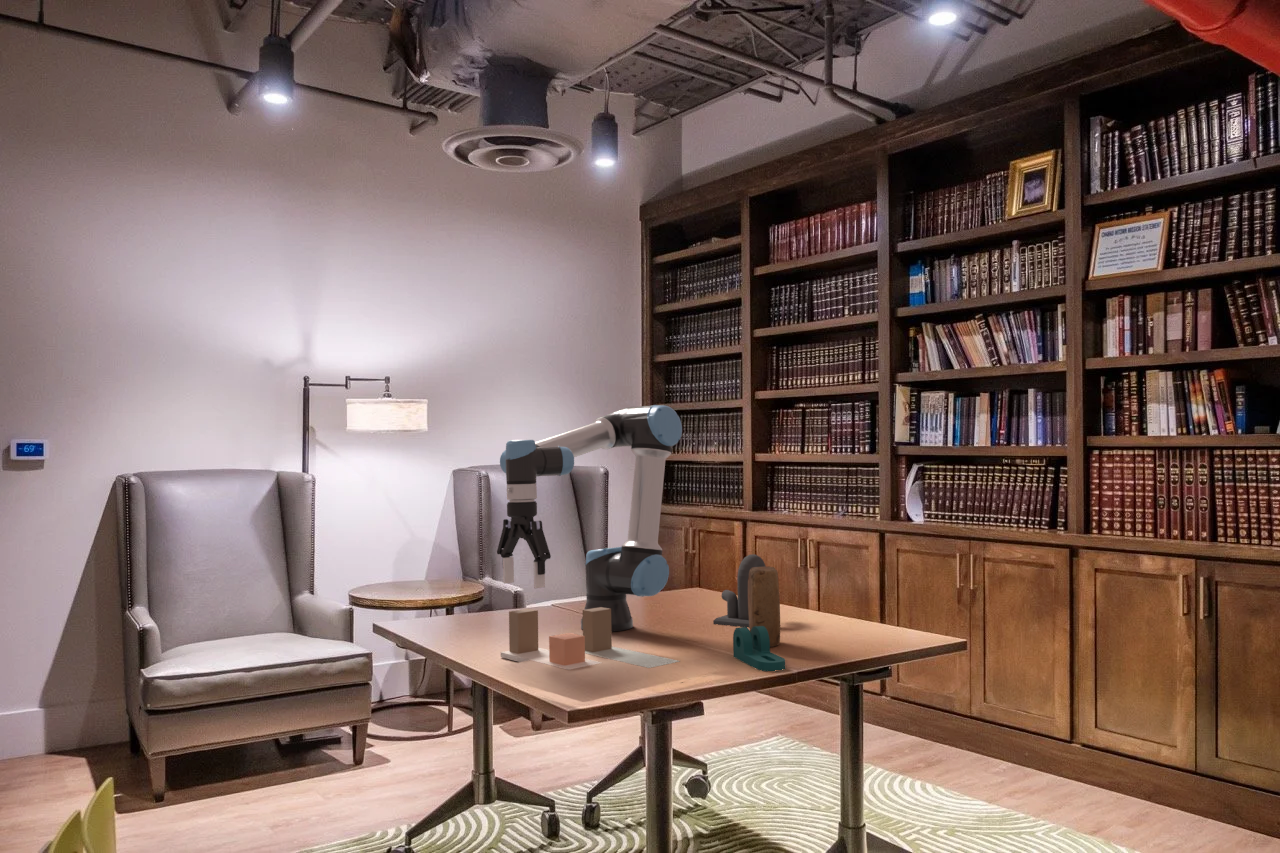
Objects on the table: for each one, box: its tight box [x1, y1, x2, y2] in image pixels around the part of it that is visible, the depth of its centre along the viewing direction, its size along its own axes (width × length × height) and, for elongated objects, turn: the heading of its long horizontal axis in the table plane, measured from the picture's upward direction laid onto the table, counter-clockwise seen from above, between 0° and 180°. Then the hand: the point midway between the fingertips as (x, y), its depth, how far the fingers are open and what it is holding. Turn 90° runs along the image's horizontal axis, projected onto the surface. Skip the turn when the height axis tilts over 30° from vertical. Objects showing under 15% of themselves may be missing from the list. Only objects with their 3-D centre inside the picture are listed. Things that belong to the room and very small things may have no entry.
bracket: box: [732, 626, 786, 672], centre depth 229 cm, size 18×7×8 cm, turn 16°
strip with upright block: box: [582, 607, 681, 669], centre depth 234 cm, size 28×10×11 cm, turn 41°
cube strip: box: [500, 608, 602, 671], centre depth 233 cm, size 28×10×11 cm, turn 41°
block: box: [748, 566, 781, 648], centre depth 252 cm, size 11×8×20 cm
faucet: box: [712, 553, 767, 628], centre depth 285 cm, size 18×16×20 cm
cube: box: [548, 632, 586, 665], centre depth 228 cm, size 6×6×6 cm
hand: (523, 585), depth 242 cm, fingers open, 13 cm apart
